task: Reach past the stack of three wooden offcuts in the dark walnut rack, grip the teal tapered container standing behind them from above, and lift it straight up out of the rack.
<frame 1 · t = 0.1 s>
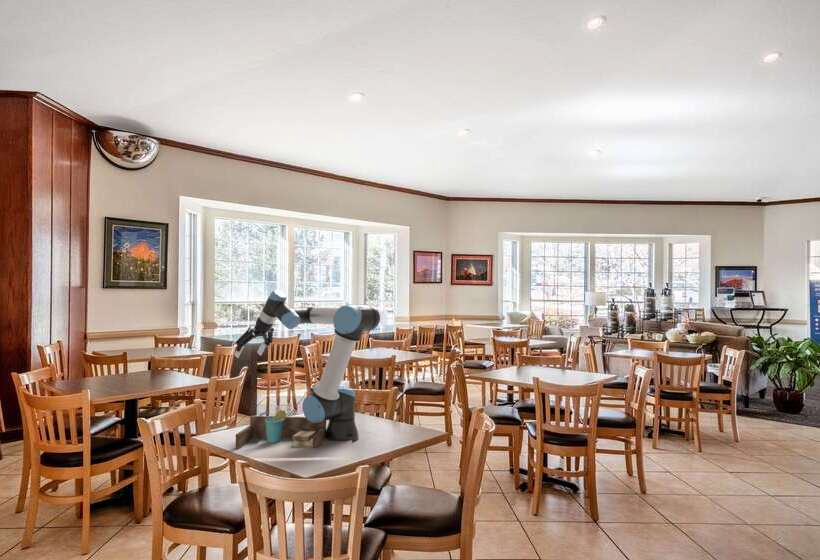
hand: (247, 354, 260), 36 cm above the table, tool tilted 35°, fingers open, 13 cm apart
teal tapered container: (272, 445, 234), on the table
offcut bottom: (304, 447, 233), on the table, touching offcut middle
rack: (282, 444, 235), on the table
offcut top: (304, 438, 233), point 3 cm above the table, touching offcut middle
offcut middle: (304, 442, 233), point 1 cm above the table, touching offcut bottom, offcut top
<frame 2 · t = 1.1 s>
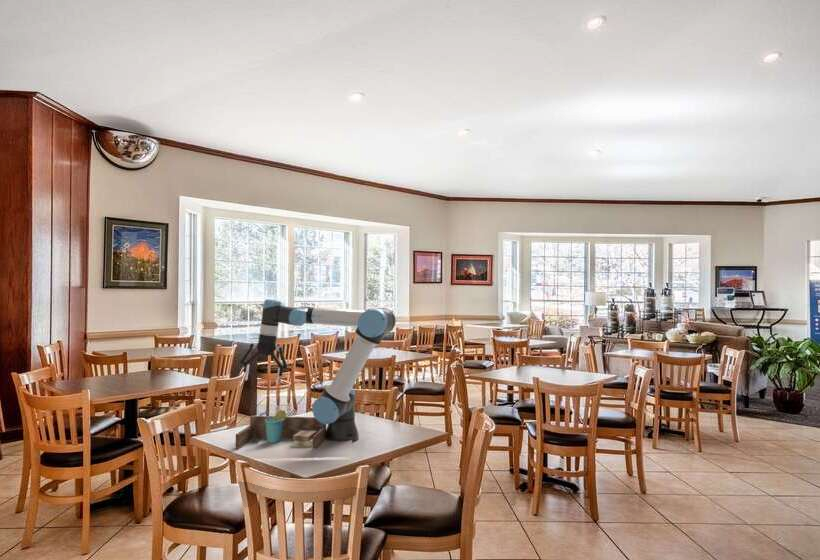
hand: (261, 381, 240), 26 cm above the table, tool pointing down, fingers open, 13 cm apart
offcut top: (305, 437, 233), point 3 cm above the table
offcut middle: (305, 442, 233), point 1 cm above the table, touching offcut bottom
everything else where it was.
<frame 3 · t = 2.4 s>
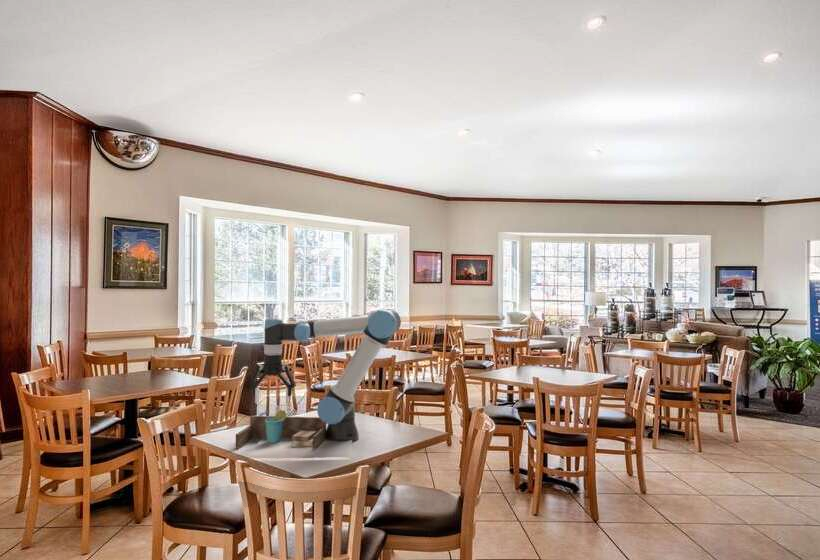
hand: (272, 403, 235), 18 cm above the table, tool pointing down, fingers open, 13 cm apart
offcut top: (304, 438, 233), point 3 cm above the table, touching offcut middle
offcut middle: (304, 442, 234), point 1 cm above the table, touching offcut bottom, offcut top
everything else where it was.
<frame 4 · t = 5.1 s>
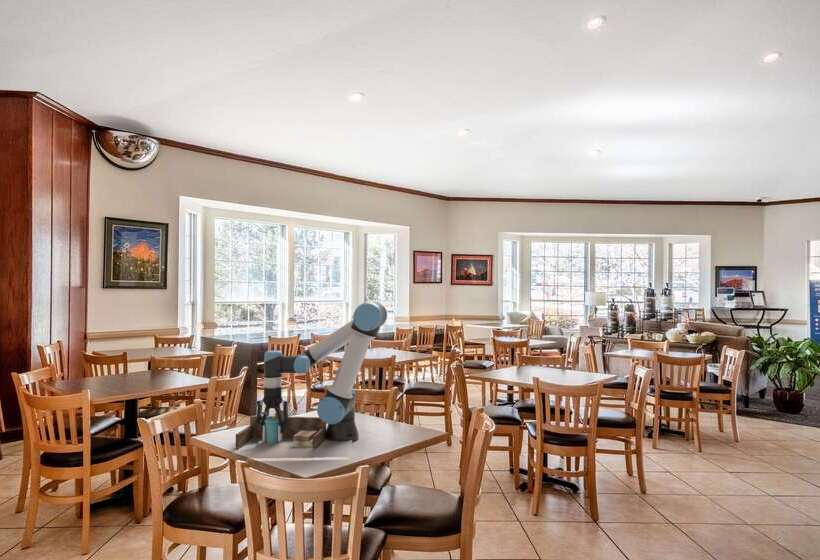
hand: (272, 440, 234), 2 cm above the table, tool pointing down, fingers closed on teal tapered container, 6 cm apart
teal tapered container: (271, 444, 234), on the table, touching gripper
everything else where it was.
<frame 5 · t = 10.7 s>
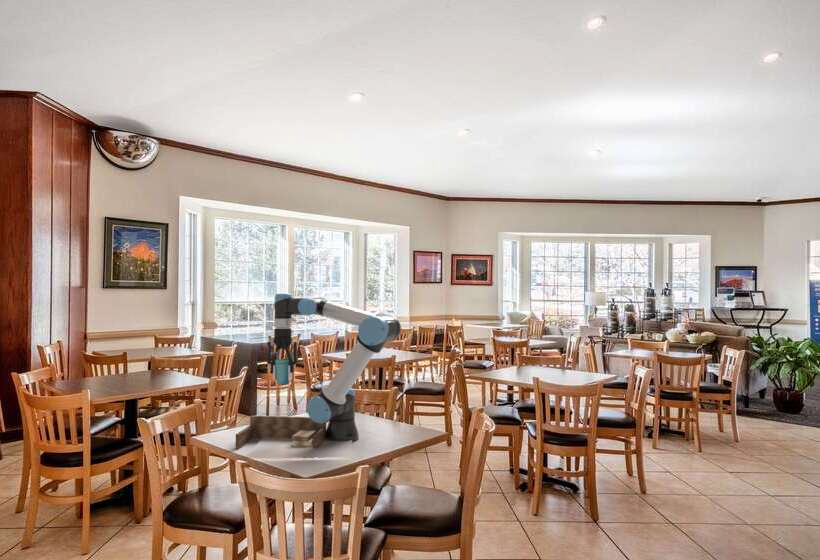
hand: (282, 379, 242), 27 cm above the table, tool pointing down, fingers closed on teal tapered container, 6 cm apart
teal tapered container: (281, 384, 242), point 25 cm above the table, touching gripper
everything else where it was.
at the end: the gripper is holding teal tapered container; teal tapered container point 24.8 cm above the table; offcut top moved 0.9 cm from its start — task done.
